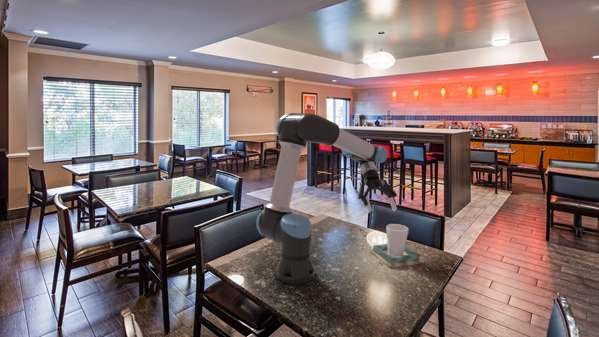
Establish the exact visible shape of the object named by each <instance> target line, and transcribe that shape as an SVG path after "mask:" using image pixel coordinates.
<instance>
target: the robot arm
mask: <svg viewBox="0 0 599 337" xmlns="http://www.w3.org/2000/svg"><path fill="white" fill-rule="evenodd" d="M276 133H277V136H278V137H279V139H278V143H279V145H280V153H279V155H278V156H279V157H278V161H277V165H276V171H275V176H274V179H273V185H272V189H271V194H270V198H269V202H267V203H266V204H265V206H264V209H262V210H261V212H260V213H258V216H257V217H256V222H255V223H256V229H257V231H258V233H259V235H261V236H263V238H265V239H267V240H269V241H272V242H274V243H277V244H278V245H280V259H279V260H278V264H277V267H276V272H275V273H276V275H275V276H276V277H277V279H278V280H279V281H281V282H282V283H286V284H289V285H290V284H291V285H302V284H306V283H308V282H311V281H312V280H313V279H314V278H315V272H316V271H315V267H314V262H313V260H312V255H311V253H312V252H311V250H312V224H311V221H310V219H309V218H308V217H306V216H304V215H303V214H297V213H293V209H291V207H290V205H291V201H292V198H293V197H292V196H293V192H294V188H295V182H296V178H297V174H298V173H297V172H298V168H299V164H300V158H301V155H302V154H301V153H302V151H303V150H305V149H306V147H307V143H309V144H310V143H314V144H321V145H324V146H327V147H330V146H334V147H336V148H338V149H341V153H342V154H343V155H344V156H345V157H346V158H349V159H351V160H353V161H355V162H358V165H359V167H360V171H361V173H362V174H361V175H362V178H363V179H362V180H361V181H360V182H359V190H358V195H357V199H358V200H361V202H363V205H364V207H365V208H366V210H367V214H370V213H371V212H372V211H373V210H372V206H371V202H370V200H369V198H368V197H367V196H368V195H369V193H370V191H371V190H372V191H373V190H375V191H377V190H378V191H380V192H382V194H384V195H385V196H387V198H389V199H388V202H389V204H390V207H391V209H392V210H391V211H392V212H396V211H397V210H398V207H397V205H396V204H397V202H396V197H398V194H397V192H396V191H395V190H394V189H393V188H392V187H391V185H389V183H388V182H387V180H386V179H384V180H381V179H380V175H379V172H378V169H377V166H376V163H380V164H382V163H384V162H386V160H387V158H388V150H387V148H386V147H385V146H377V145H374V144H373V143H371V142H369V141H366V140H365V139H362V138H360V137H358V136H356V135H354V134H352V133H350V132H348V131H346V130H344V129H342V128H340V126H339V125H338V124H337V123H335V122H332V121H331V120H330V119H327V118H325V117H323V116H320V115H319V114H315V113H310V112H308V113H302V112H301V113H300V112H291V113H286V114H284V115H283V116H281V117H280V118H279V119H278V121H277V124H276ZM365 186H367V188H366V190H365V192H364V189H365Z"/></svg>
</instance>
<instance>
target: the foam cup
mask: <svg viewBox="0 0 599 337" xmlns="http://www.w3.org/2000/svg"><path fill="white" fill-rule="evenodd" d="M409 229H410V228H409V227H408V226H406V225H404V224H399V223H389V224H386V227H385V232H386V242H387V243H386V244H387V245H388V254H389V255H390V256H391V257H396V256H403V253H404V249H405V246H406V244H407V243H406V242H407V238H408V235H409Z"/></svg>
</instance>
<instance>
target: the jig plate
mask: <svg viewBox="0 0 599 337" xmlns="http://www.w3.org/2000/svg"><path fill="white" fill-rule="evenodd" d="M372 247H373V248H372V249H369V250H368V252H369V253H370V254H372V255H373V256H374V257H375V258H377V259H378V260H379V261H380V262H381V263H382V264H384V265H385V266H386V267H388V268H389V269H395V268H400V267H406V266H414V265H419V264H420V265H421V264H425V260H424V259H422V258H421V257H420V256H421V254H420V253H419V252H416V251H415V250H414V249H412V248H411V247H408V245H405V249H404V253H403V256H396V257H391V256H390V255H389V254H388V245H387V243H384V244H383V243H382V244H375V245H373V246H372Z"/></svg>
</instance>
